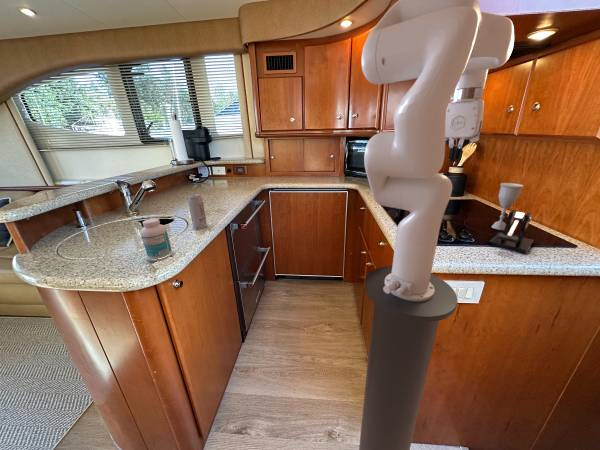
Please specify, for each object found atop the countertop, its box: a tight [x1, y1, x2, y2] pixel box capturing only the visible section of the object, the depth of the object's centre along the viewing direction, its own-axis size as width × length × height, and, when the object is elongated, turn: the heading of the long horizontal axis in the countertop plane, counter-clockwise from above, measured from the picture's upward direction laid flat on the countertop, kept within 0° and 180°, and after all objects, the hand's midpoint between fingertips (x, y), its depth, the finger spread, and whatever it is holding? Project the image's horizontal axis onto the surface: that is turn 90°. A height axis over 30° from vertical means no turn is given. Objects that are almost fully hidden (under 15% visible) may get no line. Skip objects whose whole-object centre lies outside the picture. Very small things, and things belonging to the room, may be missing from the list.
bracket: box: [488, 209, 535, 255], centre depth 82 cm, size 12×10×12 cm
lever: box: [498, 211, 526, 243], centre depth 79 cm, size 12×5×2 cm, turn 129°
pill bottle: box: [140, 218, 173, 262], centre depth 80 cm, size 8×7×14 cm
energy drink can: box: [187, 193, 208, 230], centre depth 107 cm, size 6×6×15 cm
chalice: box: [491, 182, 524, 231], centre depth 95 cm, size 7×7×18 cm
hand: (454, 161), depth 76 cm, fingers closed
